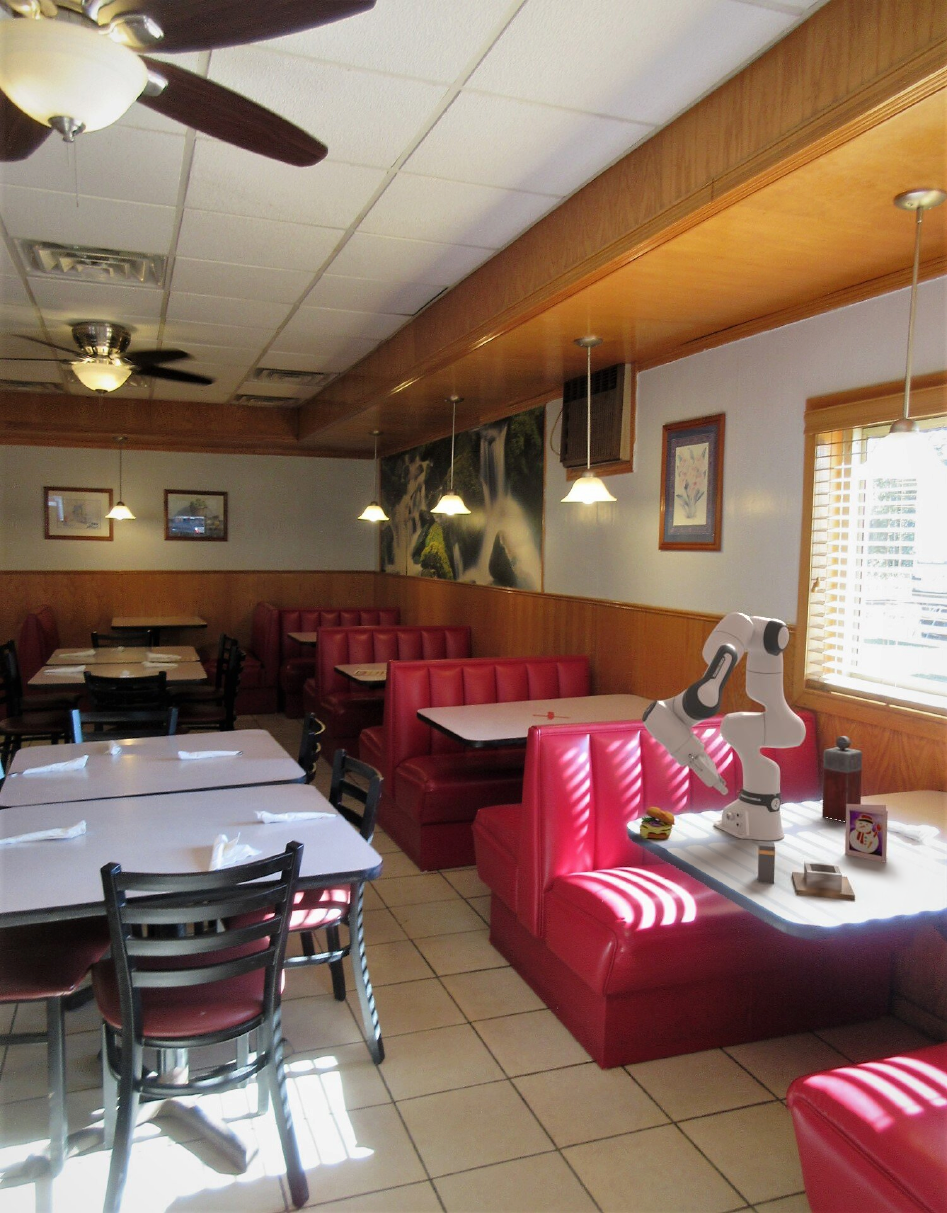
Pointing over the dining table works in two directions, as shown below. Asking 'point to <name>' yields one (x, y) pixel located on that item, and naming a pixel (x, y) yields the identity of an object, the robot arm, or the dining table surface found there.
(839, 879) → the holder
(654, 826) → the cheeseburger
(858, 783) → the pepper mill
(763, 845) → the block
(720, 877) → the dining table surface
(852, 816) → the greeting card
